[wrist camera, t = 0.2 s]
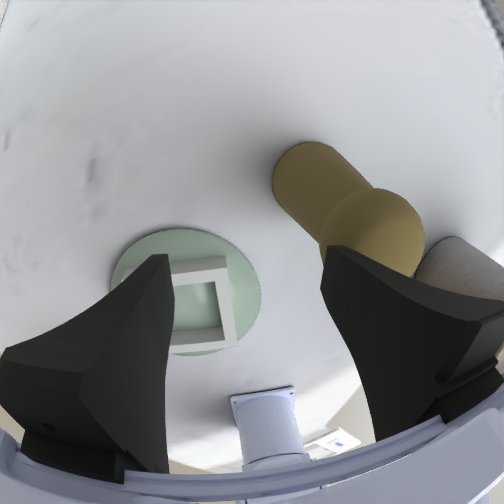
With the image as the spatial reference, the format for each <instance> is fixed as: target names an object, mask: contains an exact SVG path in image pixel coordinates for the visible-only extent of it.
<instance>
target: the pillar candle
mask: <svg viewBox="0 0 504 504" xmlns="http://www.w3.org/2000/svg"><path fill="white" fill-rule="evenodd" d="M414 279H415V280H418V281H420V282H423V283H425V284H428V285H431V286H434V287H437V288H440V289H444V290H447V291H450V292H454V293H458V294H463V295H468V296H473V297H478V298H486V299H495V300H501V301H503V302H504V268H503V267H502V266H501V265H499V264H498V263H497V262H495V261H494V260H492V259H491V258H490V257H488V256H487V255H485V254H484V253H483V252H481V251H480V250H478V249H476V248H475V247H473V246H472V245H470V244H469V243H467V242H466V241H464V240H463V239H461V238H459V237H450V238H445V239H443V240H441V241H440V242H438V243H437V244H436V245H435V246H434V247H433V248H432V249H431V250H430V251H429V252H428V253H427V254H426V256H425V258H424V259H423V261H422V262H421V264H420V266H419V268H418V270H417V272H416V276H415V278H414ZM494 356H495V357H496V358H497V359H498V364H497V366H495V367H496V369H497V370H498V371H499V373H500V374H502V372H503V371H504V341H503V343H502V345H501V346H500V348H499V349H498V351H497V352H496V354H495V355H494Z"/></svg>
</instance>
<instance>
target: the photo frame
mask: <svg viewBox="0 0 504 504" xmlns="http://www.w3.org/2000/svg"><path fill="white" fill-rule="evenodd" d="M333 429H336V430H334V431H331V432H329V433H327V434H325V435H323V436H321V437H319V438H316V439H314V440H312V441H310V442H307V443H305V444H303V446H304V447H307V446H309V445H311V444H314V443H316V444H318V445H320V446H323V447H325V448H327V449H330V450H332V451H334V452H335V453H333V454H331V455H329V456H326V457H324V458H327V457H331V456H335V455H337V454H340V453H342V452H344V451H346V450H348V449H350V448H352V447H354V446H356V445H358V444H360V443H361V442H360V440H359V439H357V438H356V437H354V436H352V435H351V434H349V433H348V432H346V431H345V430H343V429H341V428H340V427H338V426H337V427H335V428H333ZM322 459H323V458H322Z"/></svg>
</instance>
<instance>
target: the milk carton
mask: <svg viewBox="0 0 504 504" xmlns="http://www.w3.org/2000/svg"><path fill="white" fill-rule="evenodd" d="M7 4H8V1H7V0H0V25H1V22H2V19H3V16H4V13H5V10H6V7H7Z"/></svg>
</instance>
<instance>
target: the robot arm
mask: <svg viewBox="0 0 504 504" xmlns="http://www.w3.org/2000/svg"><path fill="white" fill-rule="evenodd" d="M320 290H321V293H322V296H323V299H324V301H325V304H326V307H327V309H328V311H329V313H330V315H331V317H332V319H333V321H334V323H335V324H336V326H337V328H338V330H339V332H340V334H341V336H342V337H343V339H344V341H345V343H346V345H347V347H348V349H349V351H350V353H351V355H352V357H353V359H354V362H355V365H356V368H357V370H358V373H359V376H360V379H361V382H362V385H363V388H364V391H365V395H366V398H367V402H368V406H369V410H370V414H371V418H372V423H373V428H374V434H375V439H376V443H373V444H370V445H367V446H365V447H361V448H358V449H355V450H352V451H349V452H345V453H342V454H338V455H335V456H331V457H327V458H323V459H319V460H317V459H316V458H313V459H310V456H309V453H305V449H304V446H303V442H302V439H301V435H300V432H299V429H298V425H297V422H296V418H295V415H294V402H295V388H294V387H288V388H283V389H277V390H272V391H266V392H260V393H253V394H246V395H238V396H232V397H230V402H231V406H232V410H233V414H234V418H235V421H236V425H237V429H238V430H239V435H240V442H241V449H242V455H243V462H244V465H242V471H243V472H239V473H227V474H202V475H183V474H170V473H169V464H168V454H167V443H166V427H165V375H166V366H167V360H168V353H169V347H170V341H171V335H172V329H173V323H174V310H175V296H174V290H173V284H172V277H171V271H170V264H169V257H168V254H152V255H151V256H149V257H148V258H147V259H146V260H145V261H144V262H143V263H142V264H141V265H140V266H139V267H138V268H137V269H136V270H134V271H133V272H132V273H131V274H130V275H129V276H128V277H127V278H126V279H125V280H124V281H123V282H121V283H120V284H119V285H118V286H117V287H116V288H114V289H113V290H112V291H111V292H110V293H109V294H107V295H106V296H105V297H104V298H102V299H101V300H100V301H98V302H97V303H95V304H94V305H93V306H91V307H90V308H88V309H87V310H85V311H84V312H82V313H80V314H79V315H77V316H75V317H74V318H72V319H70V320H69V321H67V322H65V323H64V324H62V325H60V326H58V327H56V328H54V329H52V330H50V331H48V332H46V333H44V334H42V335H39V336H37V337H35V338H32V339H30V340H27V341H24V342H21V343H19V344H16V345H13V346H10V347H7V348H6V349H5V350H4V352H3V354H2V356H1V358H0V405H1V406H2V407H3V408H4V409H5V410H6V411H7V412H8V414H9V415H10V416H11V417H12V418H14V420H16V422H18V423H19V425H21V426H22V427H23V428H24V429H25V433H24V436H23V440H22V444H21V443H18V442H17V441H16V440H15V439H14V438H13V437H12V436H11V435H10V434H9V433H7V432H6V431H5V430H3V429H2V428H0V504H198V503H193V502H215V501H234V500H235V502H236V504H491V501H490V499H489V497H488V495H487V492H488V491H489V490H490V489H491V488H492V487H494V486H495V485H496V484H497V483H498V482H499V481H500V480H501V479H502V478H503V477H504V371H503V372H502V374H500V373H499V371H498V370H497V369H496V367H495V366H497V364H498V359H497V358H496V357H495V356H494V355H495V354H496V352H497V351H498V349H499V348H500V346H501V345H502V343H503V341H504V302H503V301H501V300H495V299H486V298H478V297H473V296H468V295H463V294H458V293H454V292H450V291H447V290H444V289H440V288H437V287H434V286H431V285H428V284H425V283H423V282H420V281H418V280H415V279H412V278H410V277H408V276H405V275H403V274H401V273H399V272H397V271H395V270H393V269H391V268H389V267H387V266H384V265H383V264H381V263H379V262H377V261H375V260H373V259H371V258H369V257H367V256H365V255H363V254H361V253H359V252H357V251H355V250H353V249H351V248H348V247H346V246H343V245H330V246H327V250H326V257H325V263H324V269H323V275H322V281H321V286H320ZM411 453H412V454H411ZM409 454H411V455H409ZM407 455H409V456H407ZM404 456H407V457H405V458H403V459H400V458H402V457H404ZM398 459H400V460H398ZM396 460H398V461H396ZM393 461H396V462H394V463H392V464H389V463H391V462H393ZM386 464H389V465H387V466H384V465H386ZM381 466H384V467H382V468H379V467H381ZM376 468H379V469H377V470H374V469H376ZM371 470H374V471H371ZM368 471H371V472H369V473H366V472H368ZM363 473H366V474H363ZM360 474H363V475H361V476H358V477H355V478H353V479H350V480H347V481H344V482H342V483H339V484H336V485H332V486H330V484H331V483H335V482H338V481H342V480H345V479H348V478H351V477H354V476H357V475H360Z"/></svg>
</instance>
